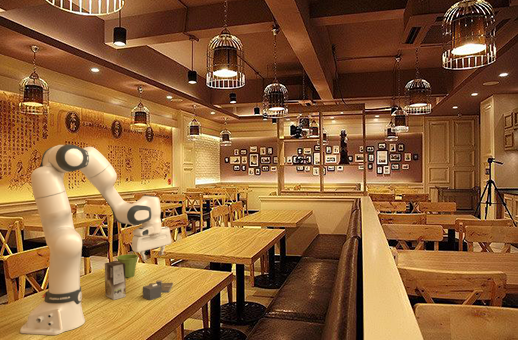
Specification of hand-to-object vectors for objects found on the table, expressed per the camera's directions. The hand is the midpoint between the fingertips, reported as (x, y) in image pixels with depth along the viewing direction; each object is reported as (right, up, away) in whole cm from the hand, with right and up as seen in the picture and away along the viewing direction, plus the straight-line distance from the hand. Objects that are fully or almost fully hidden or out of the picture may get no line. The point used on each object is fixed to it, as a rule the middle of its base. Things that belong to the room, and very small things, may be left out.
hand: (153, 257), depth 180 cm
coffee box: (-19, -19, +2) cm, 27 cm away
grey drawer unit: (0, -19, 0) cm, 19 cm away
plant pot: (-24, -19, +33) cm, 45 cm away
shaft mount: (0, -19, +12) cm, 22 cm away
